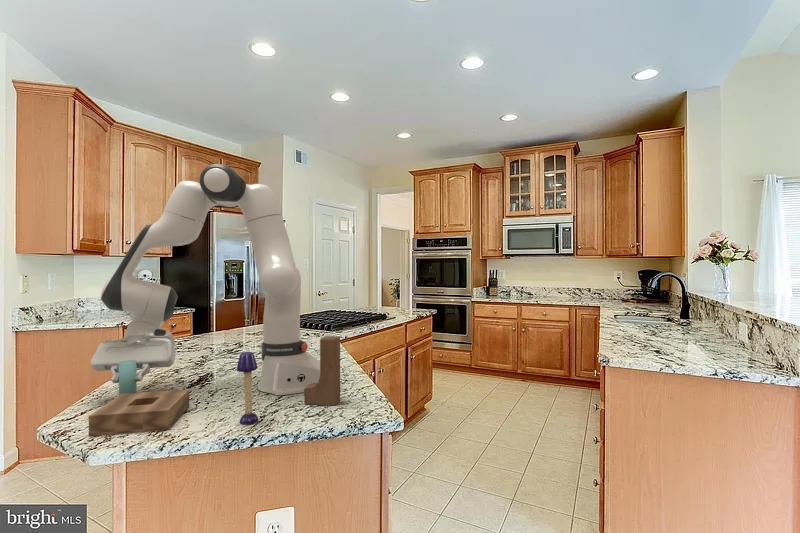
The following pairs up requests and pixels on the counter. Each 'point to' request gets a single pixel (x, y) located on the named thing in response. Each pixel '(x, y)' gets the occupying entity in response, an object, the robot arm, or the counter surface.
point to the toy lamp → (247, 385)
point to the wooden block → (326, 375)
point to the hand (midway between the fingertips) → (126, 381)
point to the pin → (127, 377)
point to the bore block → (139, 412)
